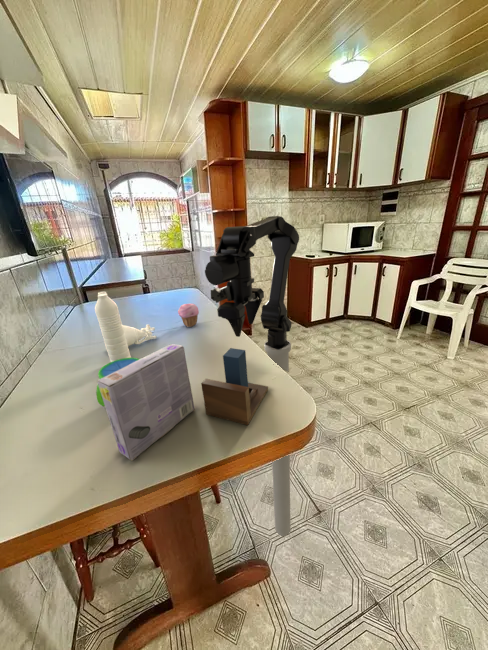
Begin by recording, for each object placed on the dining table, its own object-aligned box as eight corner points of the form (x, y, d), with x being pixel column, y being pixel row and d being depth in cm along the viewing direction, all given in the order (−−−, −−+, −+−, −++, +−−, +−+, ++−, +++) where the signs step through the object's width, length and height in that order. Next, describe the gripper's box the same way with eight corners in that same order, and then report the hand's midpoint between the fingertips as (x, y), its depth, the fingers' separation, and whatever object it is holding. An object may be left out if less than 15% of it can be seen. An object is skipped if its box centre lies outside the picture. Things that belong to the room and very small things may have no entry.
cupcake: (177, 325, 120) (173, 304, 116) (194, 320, 125) (190, 299, 121) (187, 330, 113) (183, 308, 109) (204, 324, 118) (201, 303, 114)
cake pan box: (185, 400, 70) (173, 339, 63) (199, 406, 67) (188, 343, 60) (117, 452, 55) (93, 381, 49) (132, 463, 53) (108, 389, 46)
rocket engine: (155, 313, 107) (106, 316, 96) (163, 337, 103) (113, 343, 91) (148, 329, 115) (102, 333, 104) (155, 352, 110) (108, 359, 99)
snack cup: (139, 379, 80) (131, 350, 77) (165, 388, 76) (157, 356, 72) (90, 412, 68) (78, 378, 64) (118, 424, 63) (106, 389, 59)
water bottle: (110, 361, 93) (90, 291, 83) (130, 356, 95) (112, 288, 86) (112, 372, 85) (89, 297, 76) (133, 366, 88) (114, 293, 79)
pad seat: (231, 382, 76) (228, 354, 72) (268, 389, 71) (267, 360, 68) (206, 414, 64) (201, 383, 61) (248, 425, 60) (245, 392, 56)
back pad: (235, 391, 70) (230, 347, 65) (249, 394, 68) (245, 350, 63) (228, 401, 67) (222, 355, 62) (242, 404, 65) (238, 358, 60)
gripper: (229, 269, 82) (233, 316, 88) (195, 284, 67) (203, 340, 72) (263, 269, 78) (265, 319, 84) (236, 285, 62) (241, 345, 68)
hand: (244, 329), depth 77 cm, fingers open, 9 cm apart
